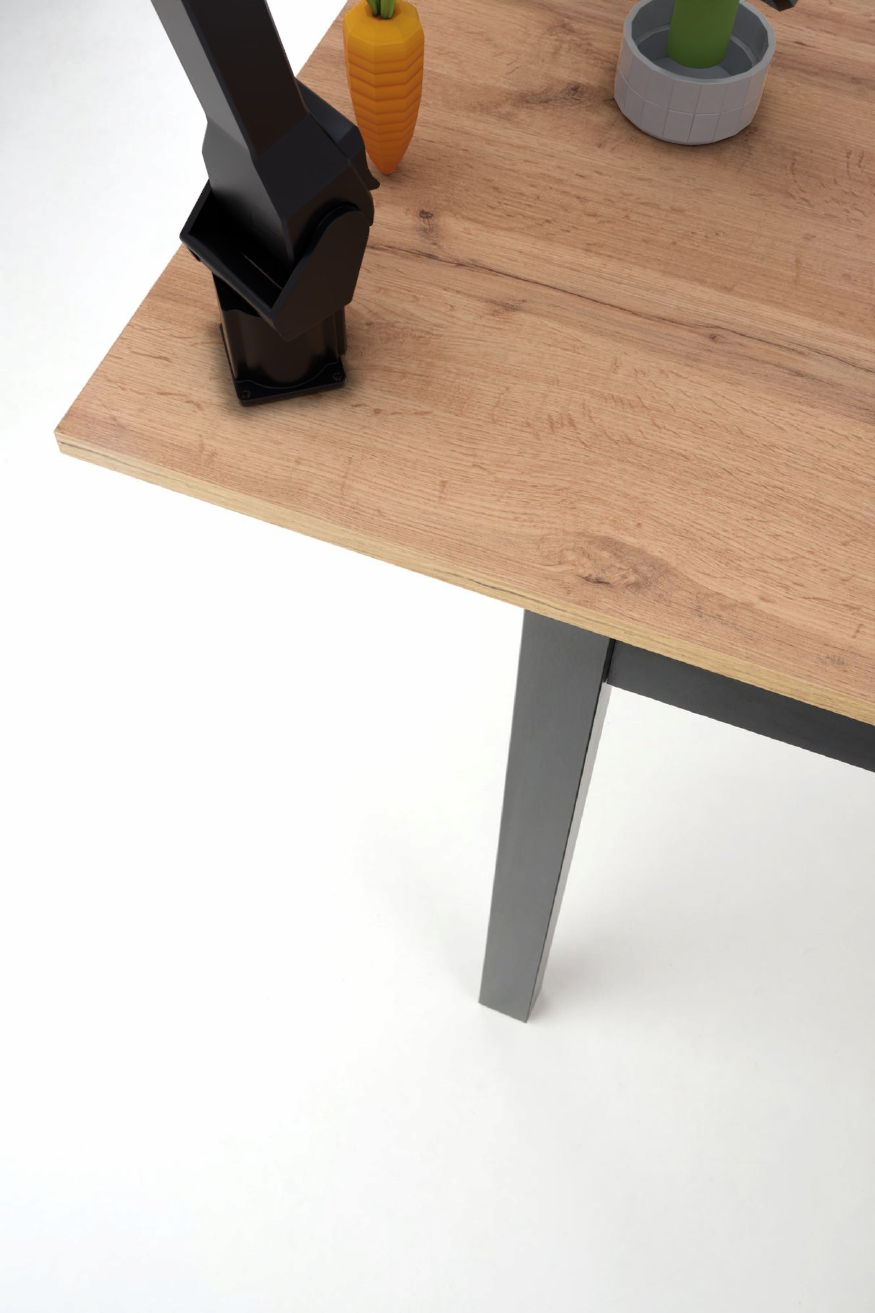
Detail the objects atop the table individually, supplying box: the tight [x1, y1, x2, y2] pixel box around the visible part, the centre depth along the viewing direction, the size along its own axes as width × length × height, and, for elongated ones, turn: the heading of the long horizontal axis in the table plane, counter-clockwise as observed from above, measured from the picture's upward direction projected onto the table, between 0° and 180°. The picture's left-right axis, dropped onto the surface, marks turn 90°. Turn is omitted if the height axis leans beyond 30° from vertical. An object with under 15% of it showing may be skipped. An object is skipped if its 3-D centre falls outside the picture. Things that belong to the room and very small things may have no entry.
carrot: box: [341, 0, 425, 175], centre depth 71 cm, size 5×5×15 cm
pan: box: [613, 0, 777, 146], centre depth 80 cm, size 10×10×5 cm
